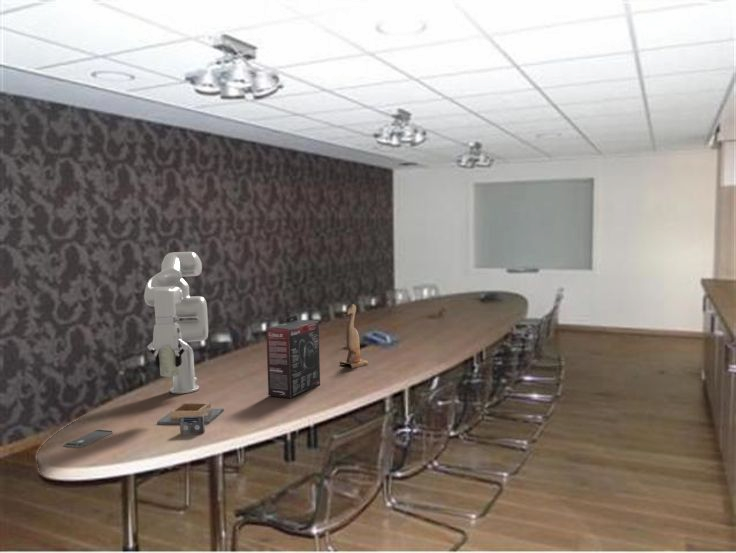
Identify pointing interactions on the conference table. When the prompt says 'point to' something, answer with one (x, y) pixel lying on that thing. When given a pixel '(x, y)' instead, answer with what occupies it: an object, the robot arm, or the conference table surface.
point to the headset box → (293, 357)
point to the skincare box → (168, 362)
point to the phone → (88, 438)
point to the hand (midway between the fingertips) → (168, 365)
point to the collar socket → (191, 413)
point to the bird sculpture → (353, 342)
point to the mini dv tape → (192, 425)
